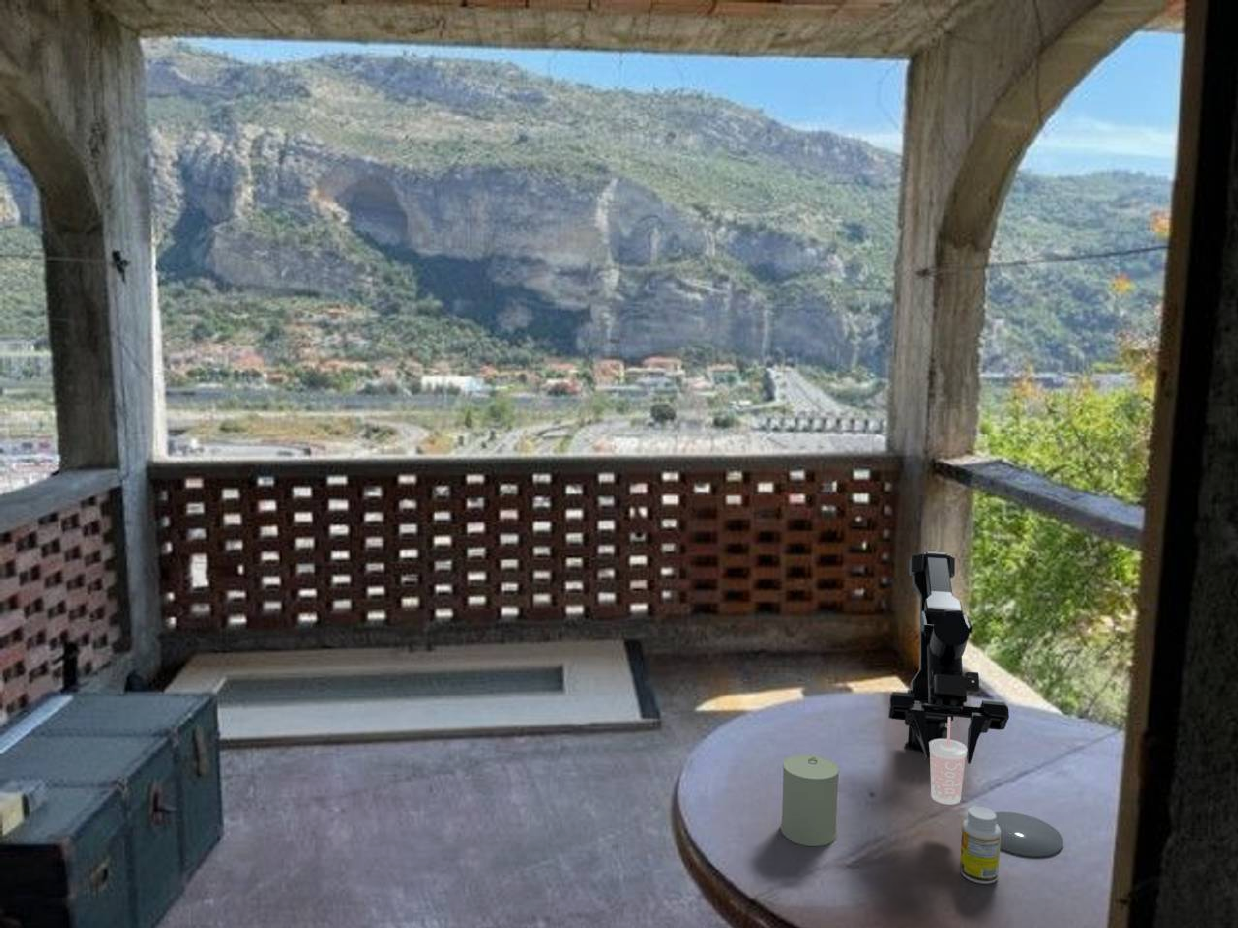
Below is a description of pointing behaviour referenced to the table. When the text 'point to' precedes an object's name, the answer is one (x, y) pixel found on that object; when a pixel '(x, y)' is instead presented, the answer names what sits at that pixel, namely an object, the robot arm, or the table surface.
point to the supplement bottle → (980, 846)
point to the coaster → (1027, 835)
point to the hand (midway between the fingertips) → (948, 760)
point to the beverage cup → (947, 768)
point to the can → (809, 799)
